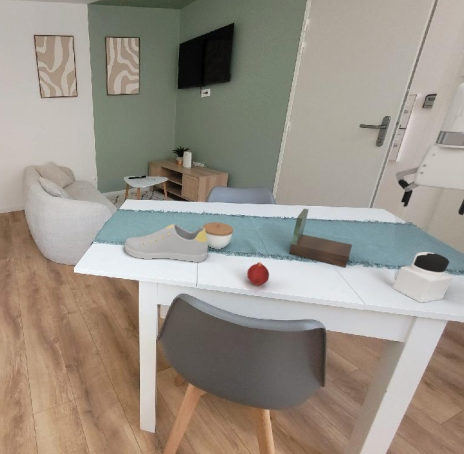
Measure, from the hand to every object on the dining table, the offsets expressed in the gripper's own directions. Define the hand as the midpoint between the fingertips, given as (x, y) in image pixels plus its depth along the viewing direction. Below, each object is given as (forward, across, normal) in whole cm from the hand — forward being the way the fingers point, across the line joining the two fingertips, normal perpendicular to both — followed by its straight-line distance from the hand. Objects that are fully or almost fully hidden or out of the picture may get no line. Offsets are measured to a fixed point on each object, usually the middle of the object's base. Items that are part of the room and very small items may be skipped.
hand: (431, 209), depth 74 cm
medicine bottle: (+24, -4, 0) cm, 24 cm away
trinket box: (+24, +51, +9) cm, 57 cm away
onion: (+24, +30, +25) cm, 46 cm away
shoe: (+24, +62, +28) cm, 72 cm away
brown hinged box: (+24, +21, -8) cm, 33 cm away
